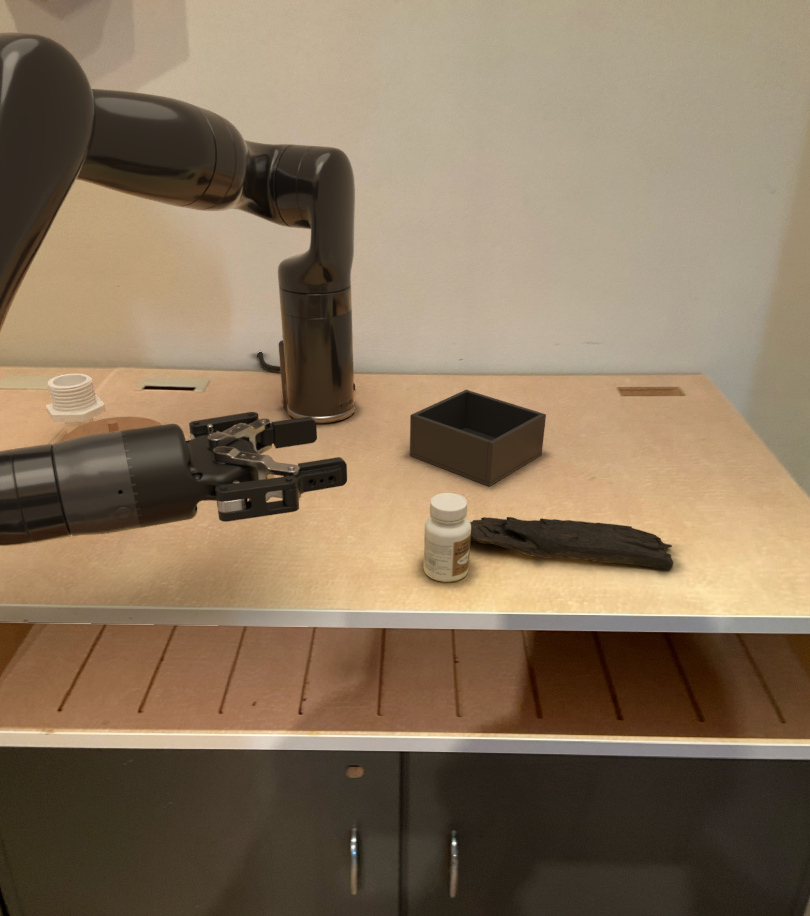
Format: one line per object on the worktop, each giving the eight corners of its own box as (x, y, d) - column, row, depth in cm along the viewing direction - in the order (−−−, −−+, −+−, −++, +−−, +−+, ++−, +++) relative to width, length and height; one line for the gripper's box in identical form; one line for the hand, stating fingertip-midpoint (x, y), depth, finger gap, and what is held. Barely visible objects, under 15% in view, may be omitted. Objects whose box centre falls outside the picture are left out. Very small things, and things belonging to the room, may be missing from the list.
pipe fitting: (63, 455, 98) (48, 394, 93) (51, 435, 103) (36, 376, 98) (115, 444, 100) (103, 384, 96) (100, 424, 106) (88, 367, 101)
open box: (409, 455, 98) (410, 414, 95) (464, 428, 106) (466, 389, 103) (489, 486, 92) (492, 443, 89) (541, 455, 99) (546, 414, 96)
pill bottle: (465, 586, 75) (469, 515, 71) (419, 580, 76) (421, 510, 71) (471, 561, 78) (475, 492, 74) (427, 555, 79) (429, 487, 75)
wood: (666, 534, 83) (672, 509, 81) (678, 573, 77) (684, 547, 75) (456, 519, 86) (457, 494, 84) (451, 556, 79) (452, 530, 78)
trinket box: (85, 532, 82) (65, 451, 77) (70, 489, 90) (51, 412, 85) (187, 509, 87) (175, 431, 82) (164, 470, 95) (152, 396, 90)
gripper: (125, 476, 53) (356, 441, 58) (109, 401, 64) (304, 377, 69) (144, 569, 57) (358, 528, 62) (126, 483, 68) (308, 454, 73)
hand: (329, 448), depth 65 cm, fingers open, 8 cm apart
